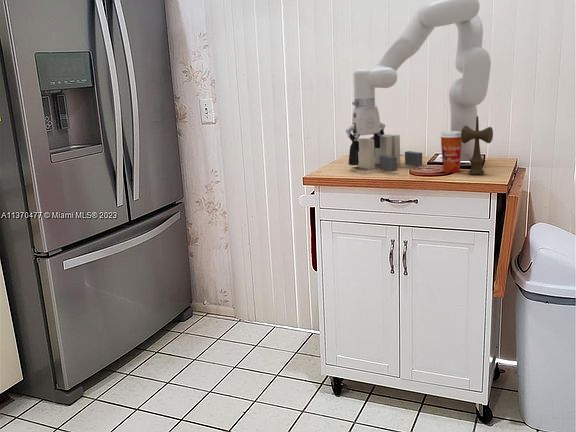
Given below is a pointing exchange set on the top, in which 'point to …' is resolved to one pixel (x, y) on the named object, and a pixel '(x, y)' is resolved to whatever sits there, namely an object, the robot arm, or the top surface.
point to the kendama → (476, 145)
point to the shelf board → (368, 169)
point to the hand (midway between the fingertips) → (366, 149)
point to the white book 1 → (366, 153)
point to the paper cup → (451, 151)
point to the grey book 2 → (413, 158)
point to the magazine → (356, 155)
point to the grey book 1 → (388, 163)
